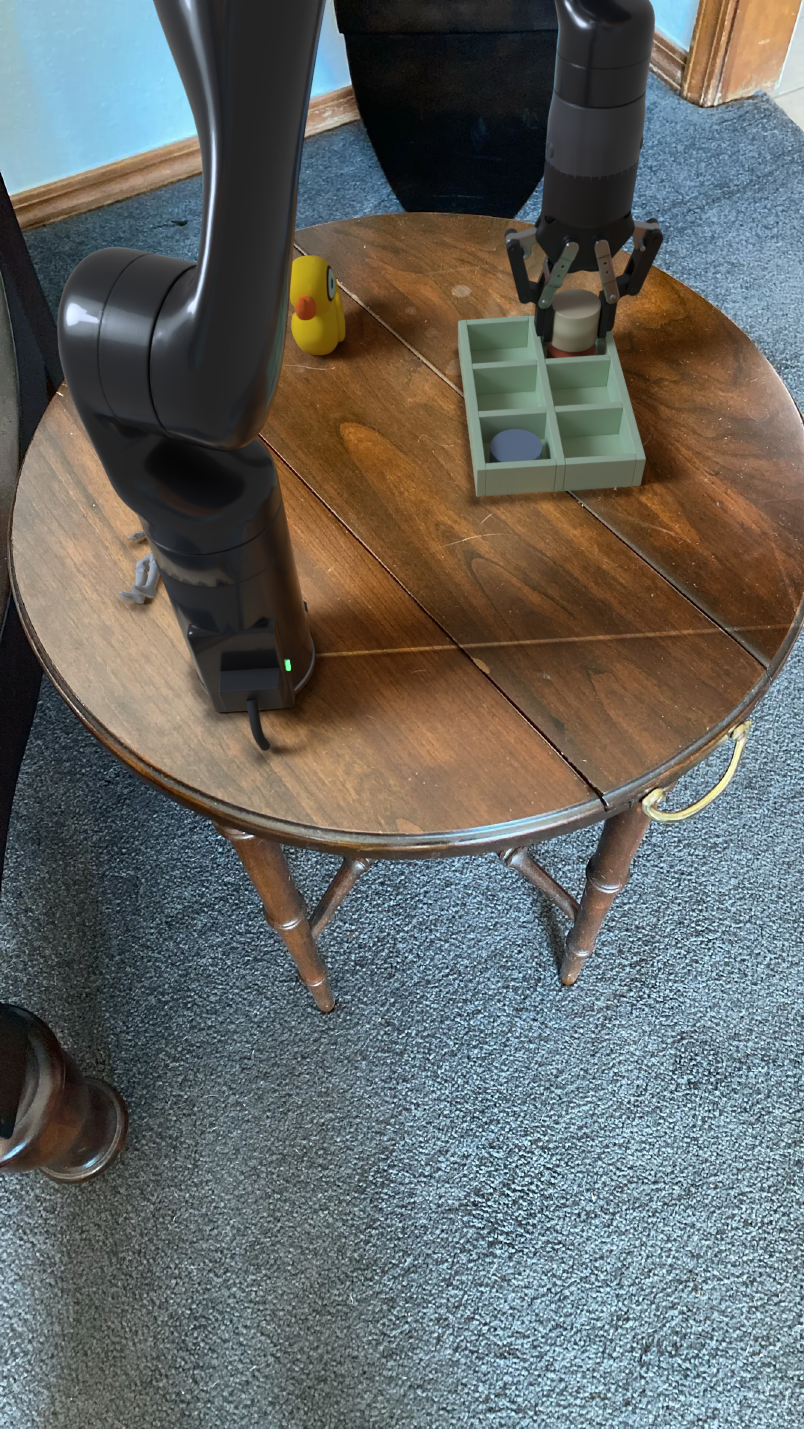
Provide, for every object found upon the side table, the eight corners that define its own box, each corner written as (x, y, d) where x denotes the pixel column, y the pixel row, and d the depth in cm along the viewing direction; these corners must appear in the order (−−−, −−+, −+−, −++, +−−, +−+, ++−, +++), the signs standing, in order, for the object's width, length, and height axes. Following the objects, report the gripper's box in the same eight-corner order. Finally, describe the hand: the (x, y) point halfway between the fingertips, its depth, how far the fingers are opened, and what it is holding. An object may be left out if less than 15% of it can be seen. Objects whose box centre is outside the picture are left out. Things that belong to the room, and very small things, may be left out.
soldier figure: (103, 604, 82) (134, 477, 85) (156, 622, 85) (184, 499, 88) (139, 584, 76) (172, 448, 79) (195, 605, 79) (224, 473, 82)
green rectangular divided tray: (601, 342, 97) (606, 309, 94) (639, 490, 85) (646, 458, 82) (458, 352, 97) (458, 319, 94) (476, 501, 86) (477, 470, 83)
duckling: (339, 384, 95) (328, 291, 87) (286, 383, 96) (270, 290, 88) (354, 314, 102) (345, 221, 93) (304, 313, 102) (290, 221, 94)
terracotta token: (596, 376, 93) (599, 358, 92) (549, 380, 93) (550, 362, 92) (589, 347, 96) (591, 329, 94) (543, 350, 96) (544, 332, 94)
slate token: (543, 479, 86) (545, 462, 84) (491, 483, 86) (492, 465, 84) (537, 444, 88) (539, 427, 87) (487, 447, 88) (487, 430, 87)
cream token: (600, 350, 91) (605, 316, 88) (551, 353, 91) (554, 319, 88) (592, 320, 94) (597, 286, 91) (545, 324, 94) (547, 289, 91)
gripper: (672, 118, 80) (640, 306, 94) (499, 131, 80) (493, 316, 94) (692, 165, 76) (655, 354, 90) (509, 179, 76) (501, 365, 90)
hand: (572, 334), depth 92 cm, fingers closed on cream token, 4 cm apart
